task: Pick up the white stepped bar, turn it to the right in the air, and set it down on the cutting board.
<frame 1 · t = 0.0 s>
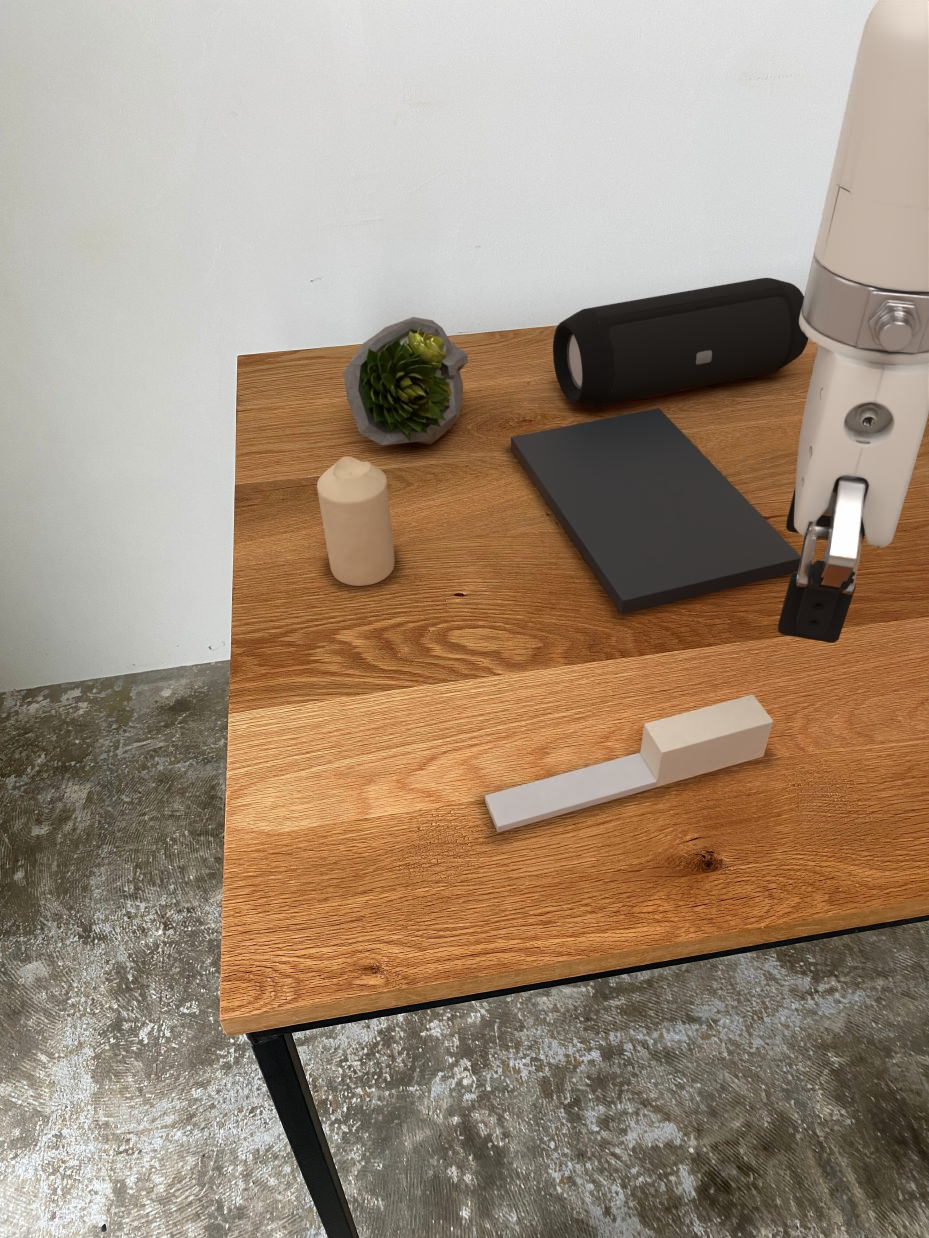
hand: (809, 580, 55), 14 cm above the table, tool pointing down, fingers open, 9 cm apart
white stepped bar: (633, 776, 62), on the table
candle: (363, 567, 80), on the table
portable speaker: (674, 387, 101), on the table
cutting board: (641, 505, 85), on the table
potted plant: (416, 436, 95), on the table
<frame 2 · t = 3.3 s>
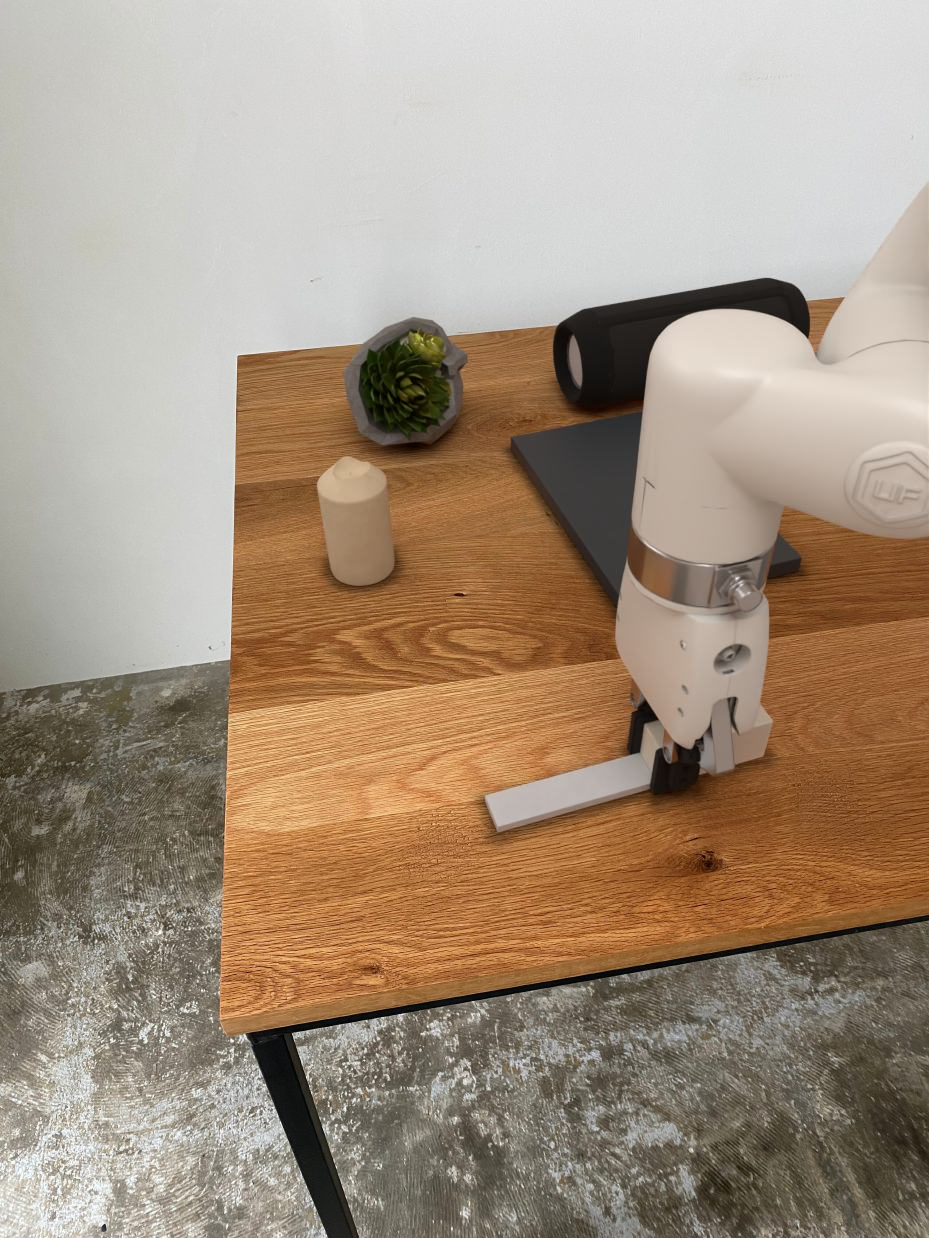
hand: (661, 765, 62), 0 cm above the table, tool pointing down, fingers closed on white stepped bar, 2 cm apart
white stepped bar: (633, 776, 62), on the table, touching gripper
everything else where it was.
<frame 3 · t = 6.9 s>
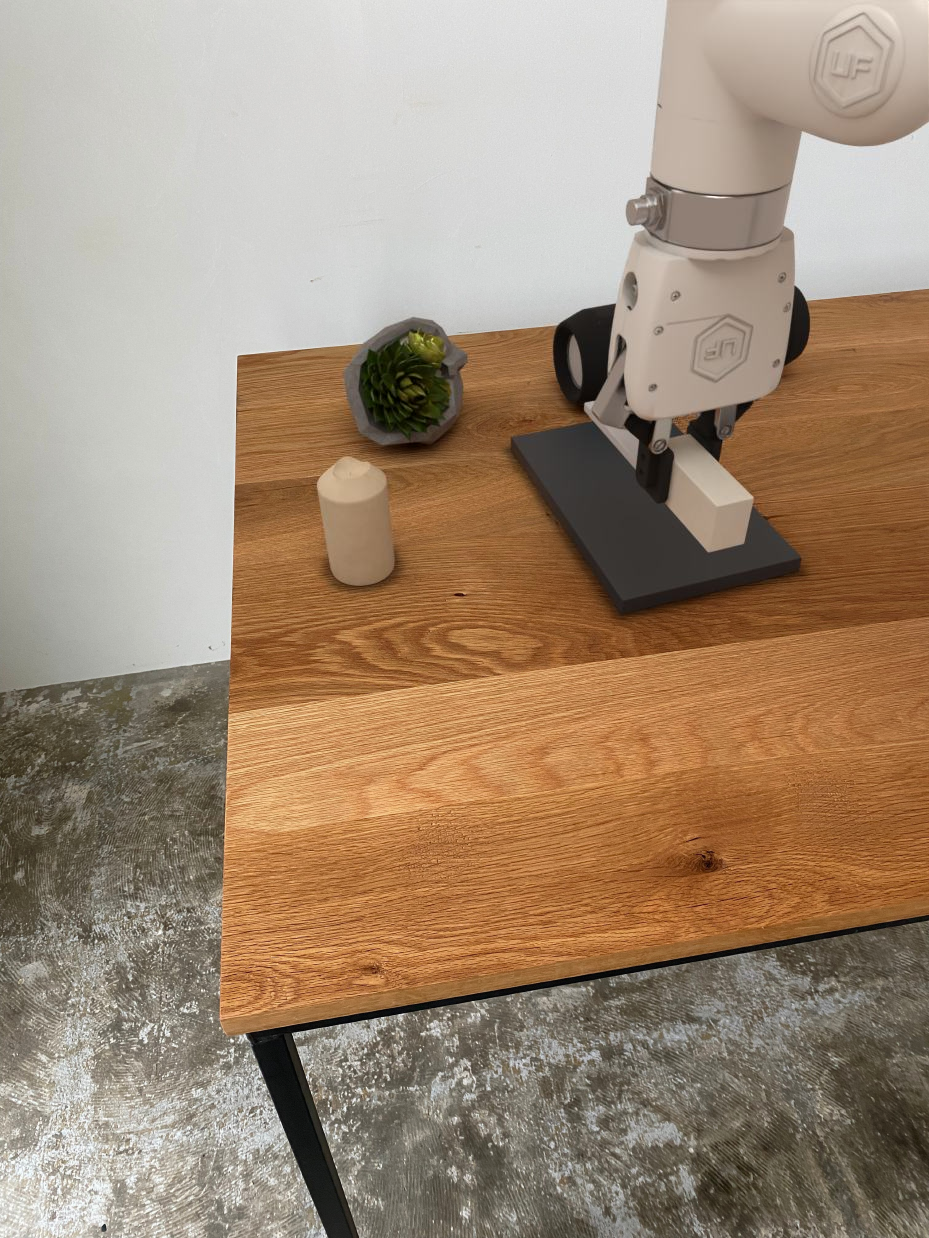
hand: (674, 485, 64), 13 cm above the table, tool pointing down, fingers closed on white stepped bar, 2 cm apart
white stepped bar: (659, 474, 65), point 13 cm above the table, touching gripper
everything else where it was.
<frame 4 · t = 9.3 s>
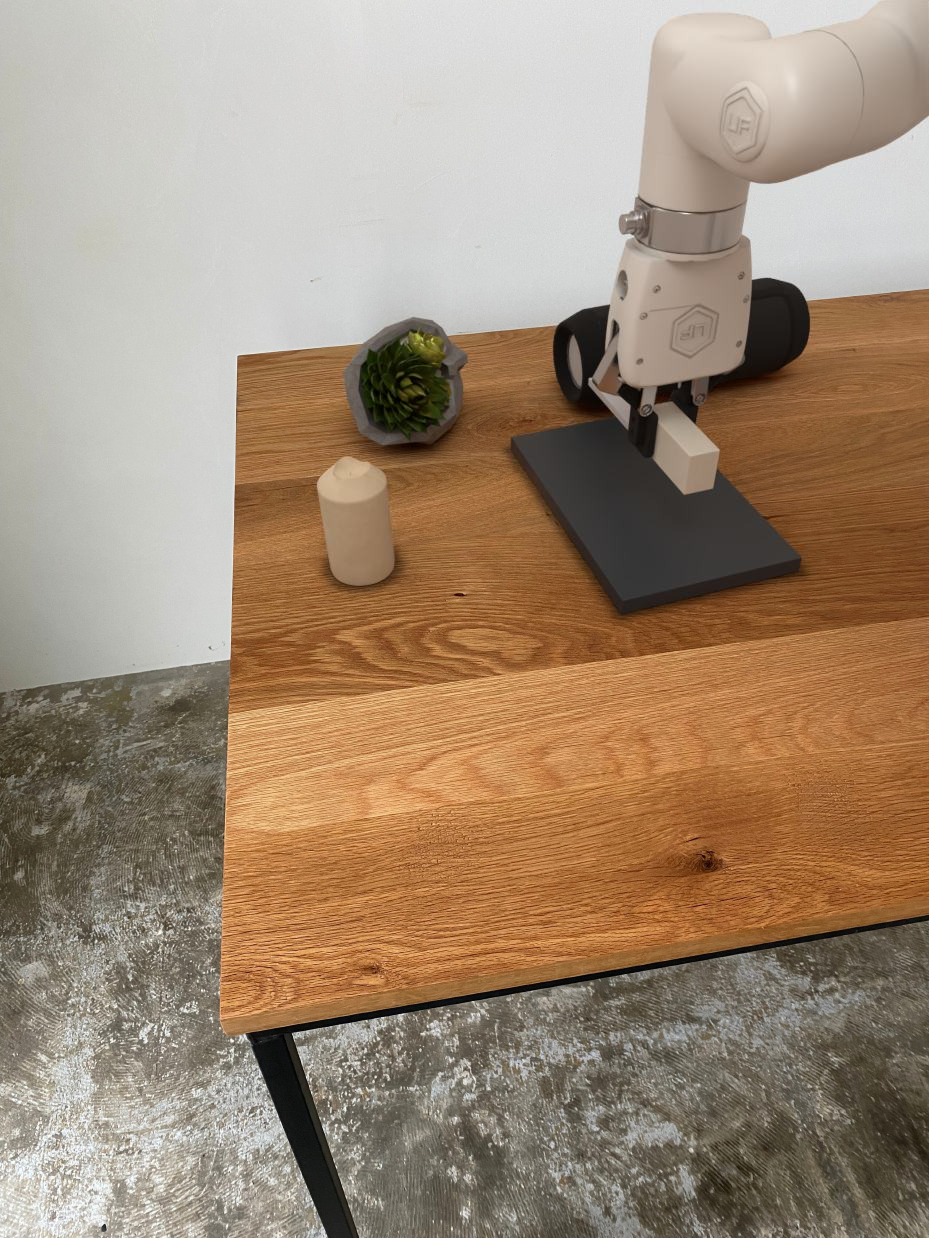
hand: (659, 444, 79), 8 cm above the table, tool pointing down, fingers closed on white stepped bar, 2 cm apart
white stepped bar: (648, 435, 80), point 7 cm above the table, touching gripper
everything else where it was.
when the fingers open (2 cm above the table, at t = 10.8 s): white stepped bar stays where it is, resting on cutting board.
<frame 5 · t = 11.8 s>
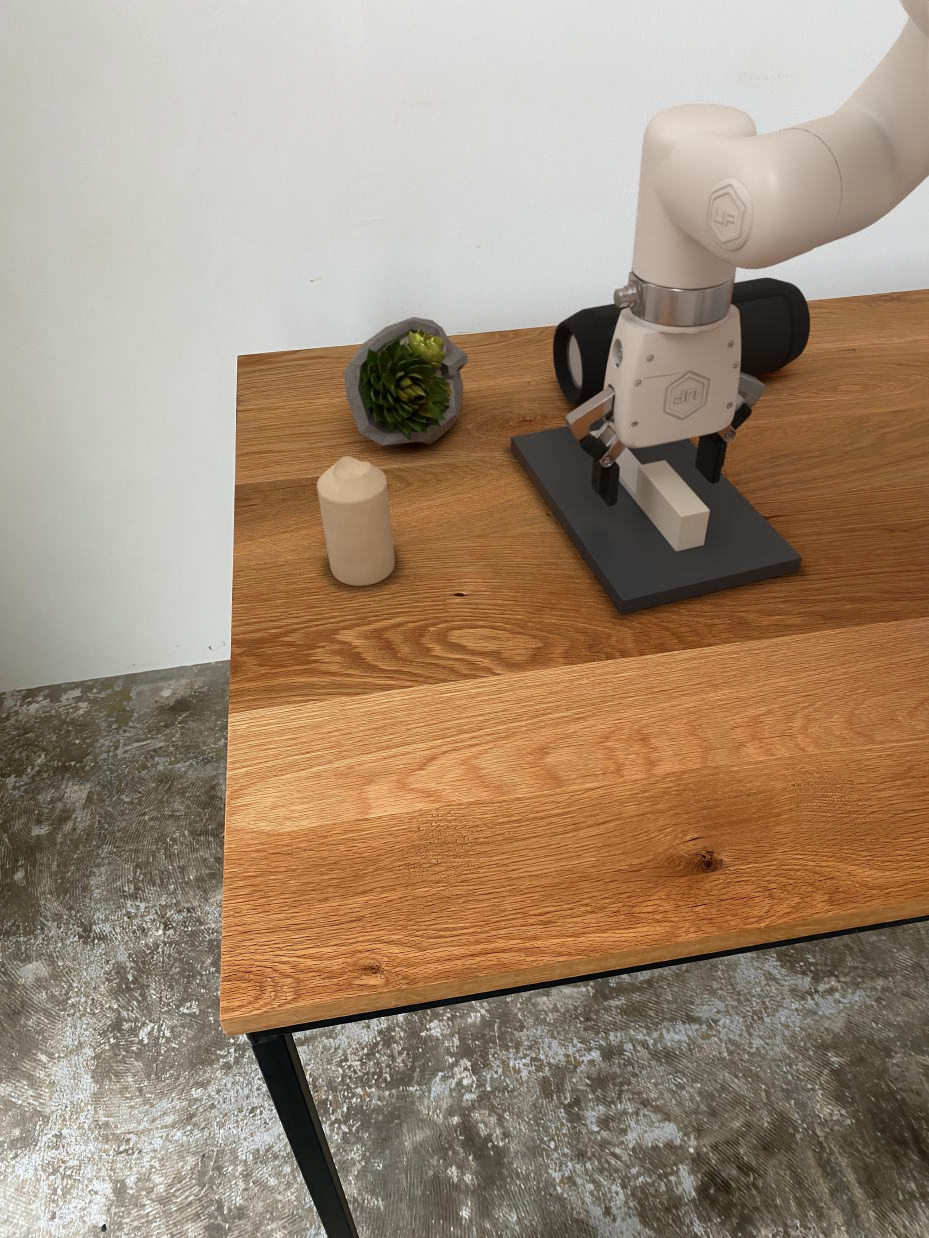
hand: (656, 486, 81), 3 cm above the table, tool pointing down, fingers open, 9 cm apart
white stepped bar: (642, 491, 84), point 1 cm above the table, touching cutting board
everything else where it was.
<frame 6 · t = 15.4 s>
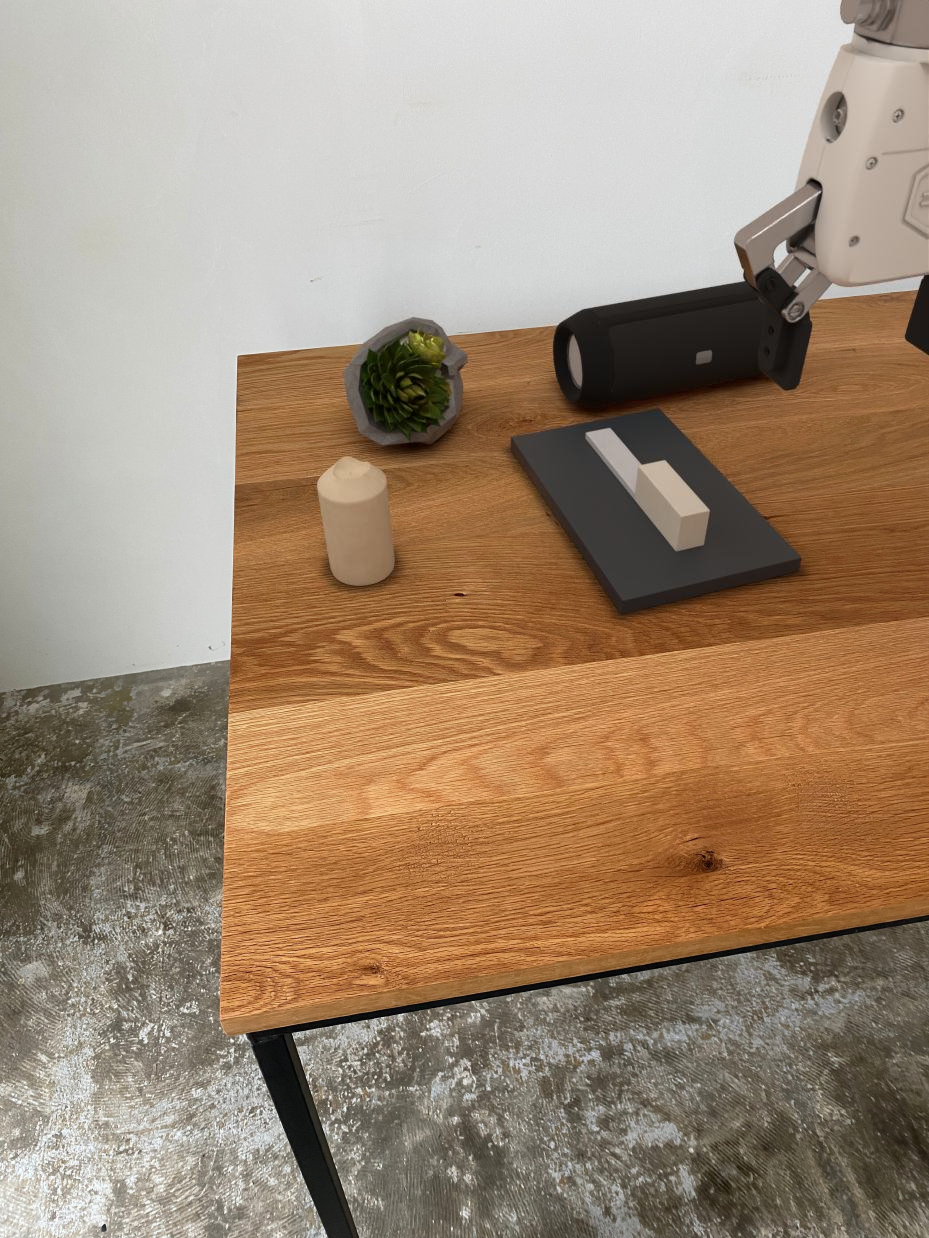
hand: (852, 364, 53), 24 cm above the table, tool pointing down, fingers open, 9 cm apart
nothing on the table moved.
at the end: white stepped bar inside the target area on the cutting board (0.1 cm from its centre), point 1.5 cm above the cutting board's base; white stepped bar tilted 0°; the gripper is holding nothing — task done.
